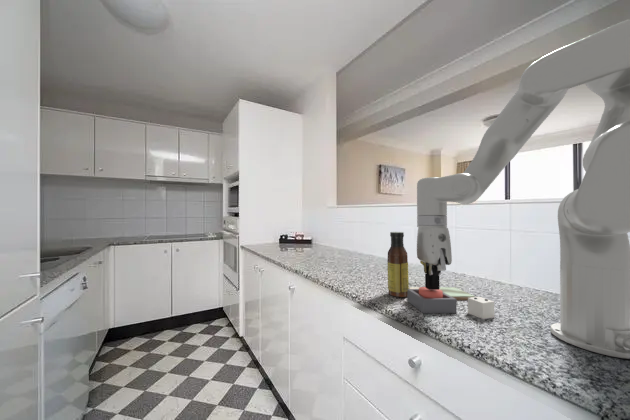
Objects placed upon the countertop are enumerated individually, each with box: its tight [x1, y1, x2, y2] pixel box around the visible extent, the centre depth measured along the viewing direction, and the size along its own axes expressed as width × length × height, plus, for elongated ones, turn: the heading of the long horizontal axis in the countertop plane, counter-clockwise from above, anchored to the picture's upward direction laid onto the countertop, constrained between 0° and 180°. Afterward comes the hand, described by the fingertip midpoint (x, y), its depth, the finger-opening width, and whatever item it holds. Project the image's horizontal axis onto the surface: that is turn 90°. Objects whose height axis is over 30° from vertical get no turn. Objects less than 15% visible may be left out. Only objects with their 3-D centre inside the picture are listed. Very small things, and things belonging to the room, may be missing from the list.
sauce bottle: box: [387, 231, 410, 298], centre depth 77 cm, size 6×6×20 cm
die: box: [467, 296, 495, 320], centre depth 62 cm, size 4×4×4 cm
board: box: [409, 286, 477, 301], centre depth 78 cm, size 10×18×1 cm, turn 95°
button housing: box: [406, 289, 458, 314], centre depth 68 cm, size 9×9×4 cm
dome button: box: [419, 286, 443, 298], centre depth 68 cm, size 6×6×3 cm
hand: (432, 288), depth 67 cm, fingers closed
